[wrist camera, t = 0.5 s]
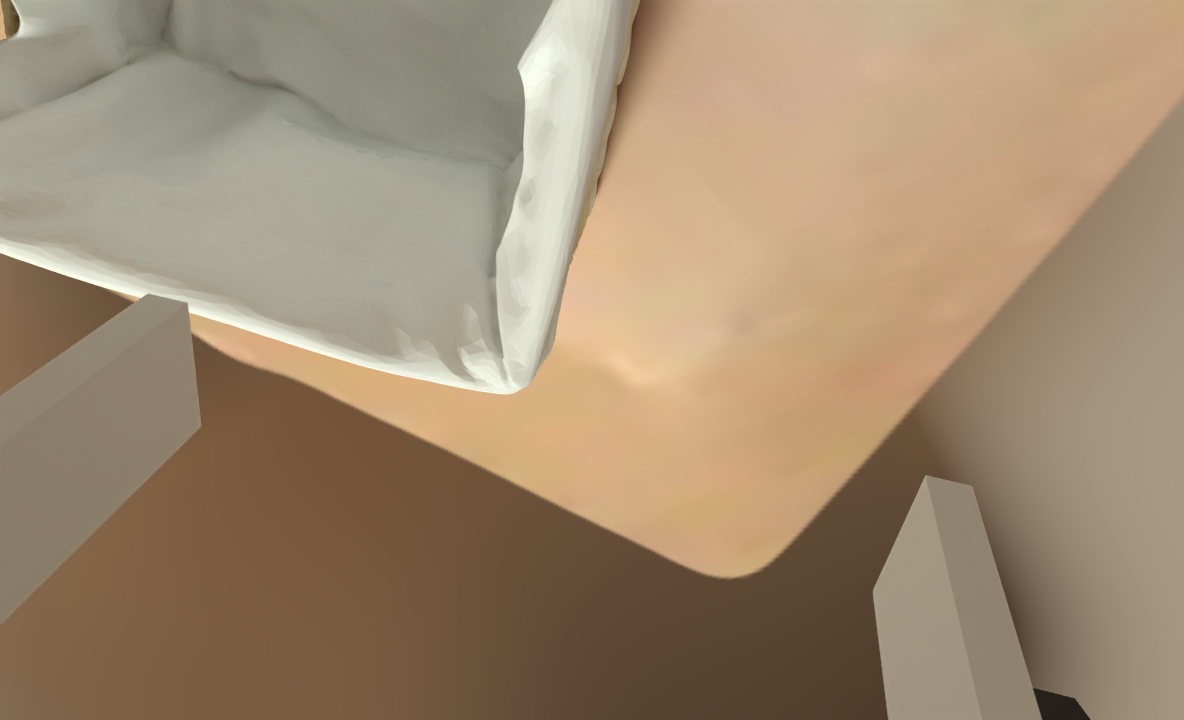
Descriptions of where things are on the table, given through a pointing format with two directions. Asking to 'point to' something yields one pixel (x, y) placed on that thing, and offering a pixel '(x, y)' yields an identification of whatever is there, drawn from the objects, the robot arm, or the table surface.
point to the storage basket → (319, 165)
